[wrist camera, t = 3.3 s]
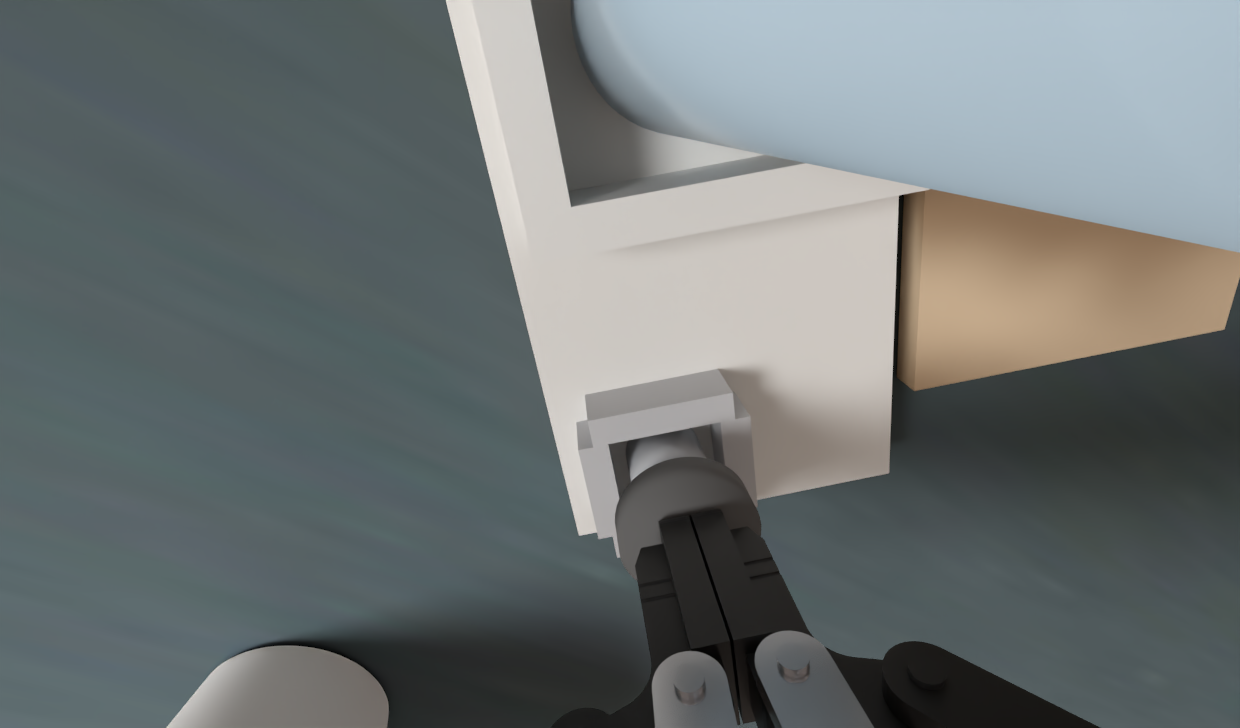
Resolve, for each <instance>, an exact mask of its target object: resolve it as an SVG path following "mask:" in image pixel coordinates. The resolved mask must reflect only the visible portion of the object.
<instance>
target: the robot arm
mask: <svg viewBox="0 0 1240 728" xmlns="http://www.w3.org/2000/svg"><path fill="white" fill-rule="evenodd" d="M658 524H659V530H660V536H661V541H662V544H658V545H653V546H648V547H643V548H641V549H640V552H639V555H638V558H637V561H636V564H635V569H636V575H637V581H638V586H639V592H640V598H641V603H642V609H643V615H644V621H645V627H646V632H647V638H648V644H649V650H650V655H651V663H652V669H651V675H650V679H649V681H648V683H647V685H646V687H645V689H644V690H643V692H642V693H641V694H640V695H639V696H638V697H637V698H636V699H635V700H634V701H633V702H631V703H630V704H628V705H627V706H625V707H623V708H622V709H620V710H618V711H617V712H615V713H613V714H611V715H610V716H609V715H608V714H606V713H605V712H603V711H601V710H598V709H594V708H581V709H577V710H574V711H571V712H569V713H567V714H565V715H564V716H562V717H561V718H559V719H558V720H557V721H556V722H555V723H554V724H553V726H552V727H551V728H738V726H737V725H740V719H739V711H740V714H741V718H742V721H743V724H744V723H749V722H753V721H756V723H757V726H758V728H1100V727H1098V726H1096V725H1094V724H1092V723H1090V722H1088V721H1086V720H1084V719H1082V718H1080V717H1078V716H1076V715H1074V714H1072V713H1070V712H1068V711H1066V710H1064V709H1062V708H1060V707H1058V706H1056V705H1054V704H1052V703H1050V702H1048V701H1046V700H1044V699H1042V698H1040V697H1038V696H1036V695H1034V694H1032V693H1030V692H1028V691H1026V690H1024V689H1022V688H1020V687H1018V686H1016V685H1014V684H1012V683H1010V682H1008V681H1006V680H1004V679H1002V678H1000V677H998V676H996V675H994V674H992V673H990V672H988V671H986V670H984V669H982V668H980V667H978V666H976V665H974V664H972V663H970V662H968V661H966V660H964V659H962V658H960V657H958V656H956V655H954V654H952V653H950V652H948V651H946V650H944V649H942V648H940V647H938V646H935V645H932V644H929V643H924V642H916V641H911V642H904V643H900V644H898V645H895V646H894V647H892V648H891V649H890V650H889V651H888V652H887V653H886V655H885V657H884V659H883V660H877V659H867V658H856V657H850V656H845V655H841V654H838V653H836V652H834V651H831V650H830V649H828V648H826V647H824V646H823V645H822V644H821V643H820V642H819V641H818V640H816V639H815V638H814V637H813V636H812V635H811V633H810V632H809V630H808V629H807V627H806V625H805V623H804V621H803V619H802V617H801V615H800V613H799V611H798V609H797V607H796V604H795V602H794V600H793V598H792V596H791V594H790V592H789V590H788V588H787V586H786V584H785V582H784V580H783V578H782V576H781V575H780V573H779V570H778V568H777V566H776V564H775V562H774V560H773V558H772V555H771V553H770V551H769V549H768V547H767V545H766V543H765V541H764V539H763V538H761V537H760V536H759V535H758V534H756V533H755V532H754V531H753V530H752V529H750V528H749V527H748V526H746V527H741V528H736V529H731V530H730V529H729V527H728V525H727V522H726V520H725V517H724V515H723V513H722V511H721V509H715V510H710V511H705V512H701V513H696V514H691V515H690V519H689V516H688V515H686V516H681V517H676V518H671V519H667V520H662V521H658ZM738 708H739V711H738Z"/></svg>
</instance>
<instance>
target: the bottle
mask: <svg viewBox="0 0 1240 728" xmlns="http://www.w3.org/2000/svg"><path fill="white" fill-rule="evenodd" d="M571 23H572V31H573V36H574V40H575V45H576V49H577V52H578V55H579V57H580V60H581V63H582V65H583V67H584V69H585V71H586V73H587V75H588V77H589V79H590V81H591V82H592V84H593V85H594V87H595V88H596V90H597V92H598V93H599V94H600V95H601V96H602V98H603V99H604V100H605V101H606V102H607V103H608V104H609V105H610V106H611V107H612V108H613V109H614V110H615V111H616V112H618V113H619V114H620V115H622V116H623V117H624V118H626V119H627V120H629V121H630V122H632V123H634V124H636V125H638V126H640V127H642V128H645V129H648V130H651V131H654V132H657V133H662V134H667V135H671V136H676V137H681V138H686V139H691V140H696V141H701V142H705V143H710V144H715V145H720V146H725V147H730V148H735V149H739V150H744V151H749V152H754V153H759V154H764V155H769V156H773V157H778V158H783V159H788V160H793V161H798V162H802V163H807V164H812V165H817V166H822V167H827V168H832V169H836V170H841V171H846V172H851V173H856V174H861V175H866V176H870V177H875V178H880V179H885V180H890V181H895V182H899V183H904V184H909V185H914V186H919V187H924V188H929V189H933V190H938V191H943V192H948V193H953V194H958V195H963V196H967V197H972V198H977V199H982V200H987V201H992V202H996V203H1001V204H1006V205H1011V206H1016V207H1021V208H1026V209H1030V210H1035V211H1040V212H1045V213H1050V214H1055V215H1060V216H1064V217H1069V218H1074V219H1079V220H1084V221H1089V222H1094V223H1098V224H1103V225H1108V226H1113V227H1118V228H1123V229H1127V230H1132V231H1137V232H1142V233H1147V234H1152V235H1157V236H1161V237H1166V238H1171V239H1176V240H1181V241H1186V242H1191V243H1195V244H1200V245H1205V246H1210V247H1215V248H1220V249H1225V250H1229V251H1234V252H1239V253H1240V0H571Z"/></svg>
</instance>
